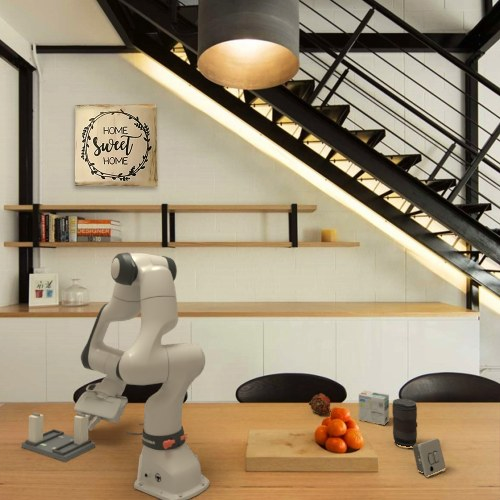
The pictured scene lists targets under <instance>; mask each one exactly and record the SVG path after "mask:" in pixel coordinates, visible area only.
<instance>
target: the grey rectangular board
mask: <svg viewBox="0 0 500 500" xmlns="http://www.w3.org/2000/svg"><path fill="white" fill-rule="evenodd" d="M21 448H23V449H25V450H29V451H31V452H34V453H37V454H40V455H42V456H43V455H44V456H46V457H50V458H53V459H55V460H59V461H61V462H64V463H66V462H68V461H70V460H73V459H75V458H76V457H78V456H80V455H82V454H84V453H86V452H89V451H90V450H92V449H94V448H96V443H95V442H94V441H92V439H89V438H88V441H86V442H84V443H82V444H80V445H78V444H75V443H74V435H70V434H67V433H64V431H62V430H59V429H55V428H54V429H51V430H48V431H46V432H43V440H42V441H39V442H37V443H33V442H30V441H28V439H26V440H24V441H23V442H21Z"/></svg>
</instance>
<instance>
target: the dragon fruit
mask: <svg viewBox="0 0 500 500" xmlns="http://www.w3.org/2000/svg"><path fill="white" fill-rule="evenodd" d="M308 405H309V406H310V408H311V410H312V411H313V412H314V413H317V414H318V415H322V416H323V415H324V414H325V413H327V414H328V413H329V412H330V410H331V409H330V408H331V400H330V398H329V396H326V395H325V394H323V393H322V392H321V393H319V394H315V395H314V396H313V397H312V399H311V400H310V401H309V402H308Z"/></svg>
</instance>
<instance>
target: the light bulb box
mask: <svg viewBox="0 0 500 500" xmlns="http://www.w3.org/2000/svg"><path fill="white" fill-rule="evenodd" d="M389 399H390V396H389V394H387V393H386V394H385V393H382V392H374V391H368V390H363V391H360V393H358V421H359V420H364V421H369V422H375V423H379V424H384V425H385V424H386V423H387V422H388V423H389V421H390V400H389ZM388 420H389V421H388ZM364 421H363V422H364ZM388 423H387V424H388ZM387 424H386V425H387ZM386 425H385V426H386Z"/></svg>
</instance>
